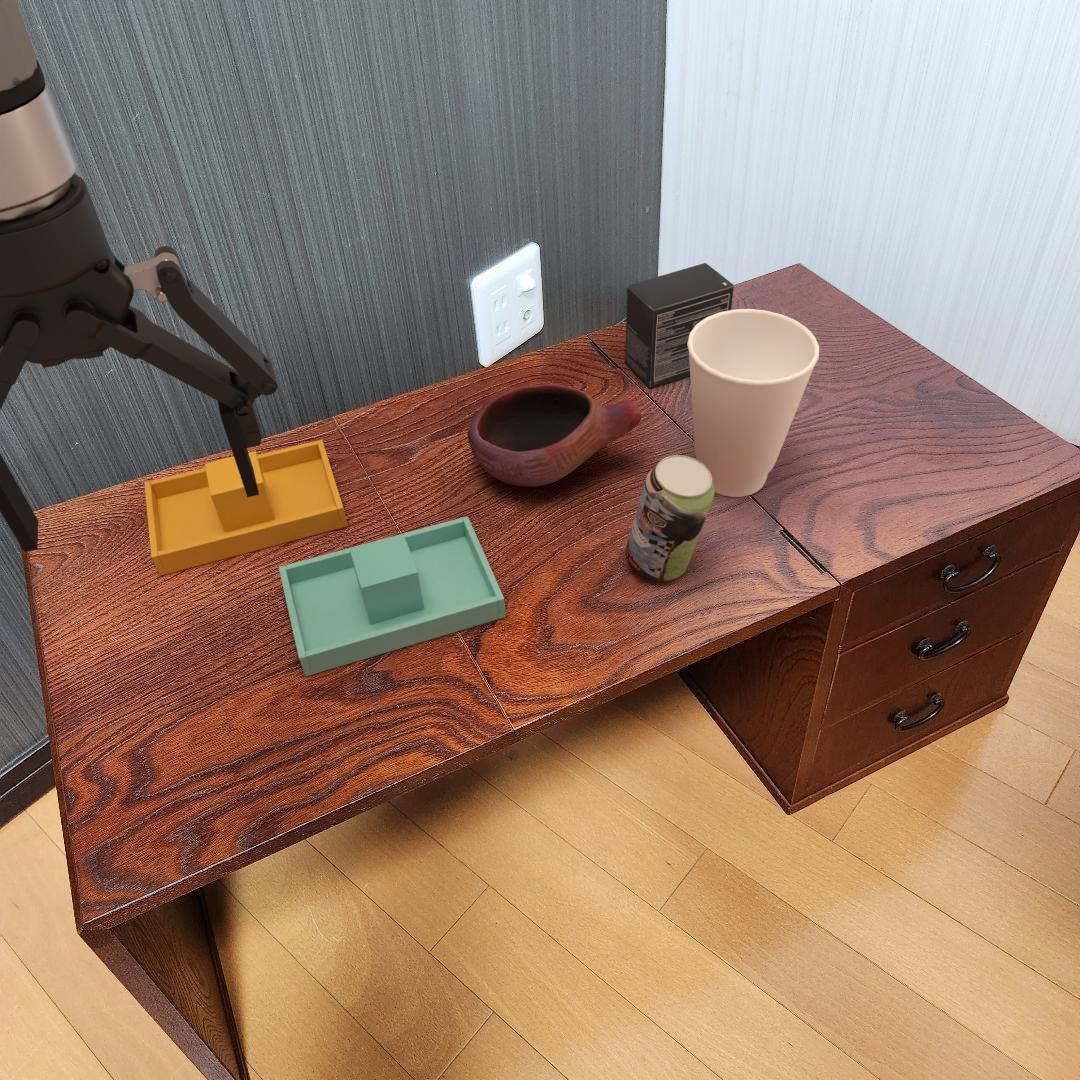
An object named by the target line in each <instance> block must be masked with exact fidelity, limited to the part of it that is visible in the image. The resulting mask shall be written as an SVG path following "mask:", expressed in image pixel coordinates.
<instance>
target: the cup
mask: <svg viewBox="0 0 1080 1080" xmlns="http://www.w3.org/2000/svg"><path fill="white" fill-rule="evenodd" d="M687 346H688V350H689V362H690V376H689V377H690V392H691V409H692V411H691V412H692V425H693V427H692V428H693V440H694V441H693V443H694V454H695V459H696V460H698V461H699V462H701V463H702V464H703V465H705V466H706V467H707V469H708V470H709V472H710V473H711V476H712V483H713V486H714V494H717V495H720V496H724V497H730V498H743V497H747V496H751V495H753V494H755V493H757V492H759V491H760V490H761V489H762V488H763V487H764V485H765V483H766V482H767V479H768V476H769V473H770V472H772V471H773V469H774V467H775V465H776V463H777V460H778V458H779V455H780V453H781V450H782V448H783V445H784V443H785V440H786V438H787V436H788V433H789V431H790V428H791V425H792V423H793V420H794V419H795V416H796V413H797V410H798V408H799V405H800V403H801V400H802V398H803V395H804V393H805V390H806V388H807V385H808V383H809V381H810V378H811V377H812V376H811V375H812V373H813V370H814V368H815V366H816V364H817V363H818V361H819V357H820V346H819V343H818V341H817V338H816V336H815V335H814V333H812V332H811V331H810V329H809V328H808V327H807V326H805V325H803V324H802V323H800V322H799V321H798V320H796V319H793V318H791V317H789V316H786V315H784V314H782V313H777V312H773V311H769V310H764V309H754V308H740V309H739V308H737V309H731V310H729V311H724V312H719V313H717V314H714V315H711V316H709V317H706V318H705V319H704V320H702V321H701V322H699V323H698V324H697V325H696V326H695V327H694V328H693V330H692V331H691V332H690V334H689V339H688V343H687Z"/></svg>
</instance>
